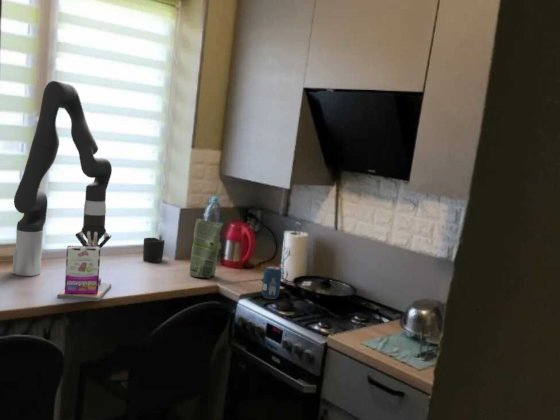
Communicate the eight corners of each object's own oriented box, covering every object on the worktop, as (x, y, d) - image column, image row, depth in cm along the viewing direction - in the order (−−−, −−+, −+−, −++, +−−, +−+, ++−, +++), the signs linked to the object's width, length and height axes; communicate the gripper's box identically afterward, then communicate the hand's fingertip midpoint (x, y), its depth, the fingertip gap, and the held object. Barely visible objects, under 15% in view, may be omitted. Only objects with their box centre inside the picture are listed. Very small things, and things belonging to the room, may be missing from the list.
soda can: (271, 293, 230) (274, 264, 229) (282, 298, 225) (285, 268, 223) (257, 295, 225) (261, 265, 224) (269, 300, 220) (272, 270, 219)
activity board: (57, 298, 195) (57, 289, 195) (73, 283, 214) (73, 275, 213) (98, 301, 196) (99, 292, 196) (111, 286, 215) (111, 278, 215)
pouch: (188, 272, 249) (193, 216, 246) (214, 273, 253) (220, 218, 250) (191, 279, 239) (196, 220, 236) (219, 280, 242) (224, 222, 239)
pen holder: (143, 262, 258) (144, 241, 256) (141, 258, 266) (142, 237, 265) (164, 263, 261) (165, 242, 259) (161, 258, 270) (163, 238, 268)
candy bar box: (97, 290, 204) (100, 246, 202) (98, 294, 199) (101, 249, 197) (64, 290, 200) (67, 244, 198) (64, 294, 195) (66, 247, 193)
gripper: (73, 212, 203) (70, 259, 205) (110, 215, 204) (108, 262, 206) (79, 209, 210) (76, 255, 212) (115, 212, 211) (112, 258, 213)
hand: (92, 259), depth 209 cm, fingers closed
